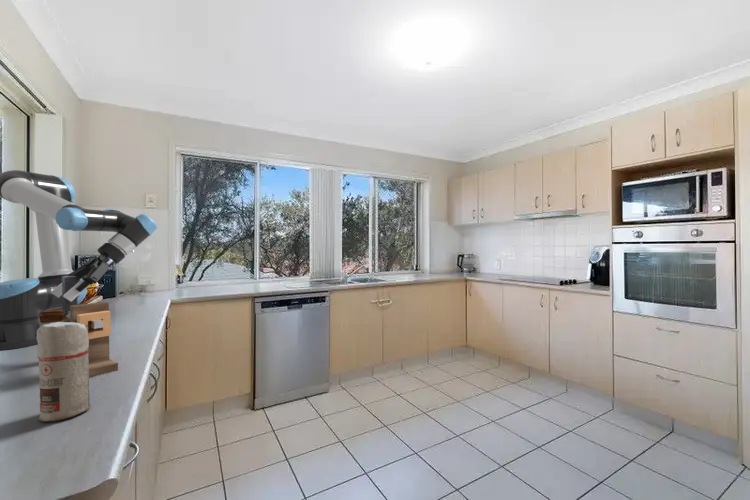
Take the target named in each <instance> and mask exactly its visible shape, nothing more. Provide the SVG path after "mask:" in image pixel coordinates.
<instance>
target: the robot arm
mask: <svg viewBox="0 0 750 500" xmlns="http://www.w3.org/2000/svg"><path fill="white" fill-rule="evenodd" d="M0 198H2V199H4V200H6V201H8V202H10V203H13V204H20V205H23V206H24V207H25V206H26V207H27V208H28V209H29V210H31V211H32V212H34V215H35V221H36V229H37V230H36V231H37V236H38V237H37V238H38V244H39V254H40V260H41V261H40V262H41V270H42V272H41V273H40V274H39V275H38V276H37V277H28V278H26V277H25V278H18V279H13V280H12V279H10V280H7V281H6V280H5V281H2V282H0V351H4V350H6V351H7V350H13V349H21V348H26V347H30V346H34V345H38V342H37V330H38V329H39V327H40V326H43V324H42V322H41V320H40V313H41V312H45V311H50V310H57V309H62V277H65V276H77V284H76V285H75V286H74V287H72V288H71V289H70V290H69V291H68V292H67V293H65V294H64V295H63V297H64V298H66V299H68V300H69V301H71V302H72V301H73V300H74V299H75V298H76V297H77V305H80V303H81V304H82V302H83V300H84V299H85V298H86V295H87V292H88V288H89V287H90V286H91V285H93V284H94V285H95V284H97V283H98V282H99V280H100V279H101V278H102V277H103V275H105V274H106V272H107V271H108V270H109V269H110V268H111V267H112V266H113V265H114V264H115V265H116V264H119V263H120V262H121V261H122V260H123V259H124V258H126V256H128V255H129V254H130V253H134V252H135V251H134V249H136V248H137V247H138V246H139V245H140V244H142V243H143V242H144V241H145V240H146V239H148V238H149V237H150V236H152V234H153V233H154V232H155V231H156V230H157V229H158V226H157V225H158V224H157V223H156V221H154V219H153V218H152V217H150V216H149V215H147V214H145V213H140V214H139V215H136V217H133V216H131V215H128V214H126V213H124V212H122V211H120V210H117V209H113V208H106V209H105V210H104V209H103V210H99V209H90V208H89V209H88V208H84V207H82V206H79V205H78V204H75V203H74V201H75V199H76V191H75V188H74V185H72V183H71V182H70V181H68V180H67V179H65V177H60V176H56V175H52V174H49V175H48V174H45V173H44V174H42V173H36V172H31V171H26V170H18V169H17V170H15V169H14V170H13V169H12V170H6V171H3V172H1V173H0ZM68 231H73V232H77V231H78V232H79V231H80V232H108V233H109V232H112V233H113V232H114V233H115V234H114V235H113V236H111V237H110V238H108V240H107V242H104V243H103V244H102V245H101V246H100V247H98V248H97V252H98V253H99V254H100V255H99V256H98V257H97V256H95V255H94V256H92V258H91V259H89V260H88V261H87V262H85V263H83V264H82V265H80V266H79V267H78V268H76V269H75V270H73V269H72V268H73V267H72V261H71V253H70V244H69V238H68V237H69V236H68V235H69V234H68Z"/></svg>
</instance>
